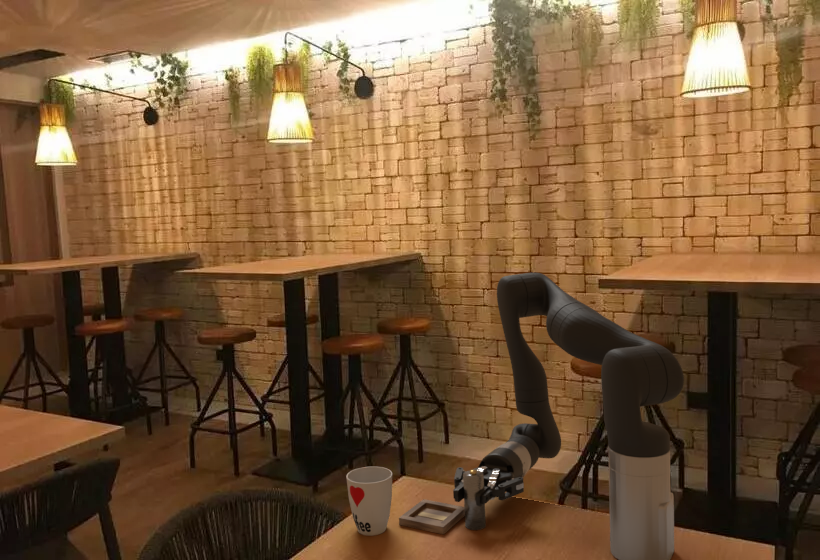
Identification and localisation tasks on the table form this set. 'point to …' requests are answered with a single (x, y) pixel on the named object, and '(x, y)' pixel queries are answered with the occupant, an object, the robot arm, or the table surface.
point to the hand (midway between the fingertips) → (467, 498)
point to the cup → (370, 498)
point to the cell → (473, 500)
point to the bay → (432, 516)
